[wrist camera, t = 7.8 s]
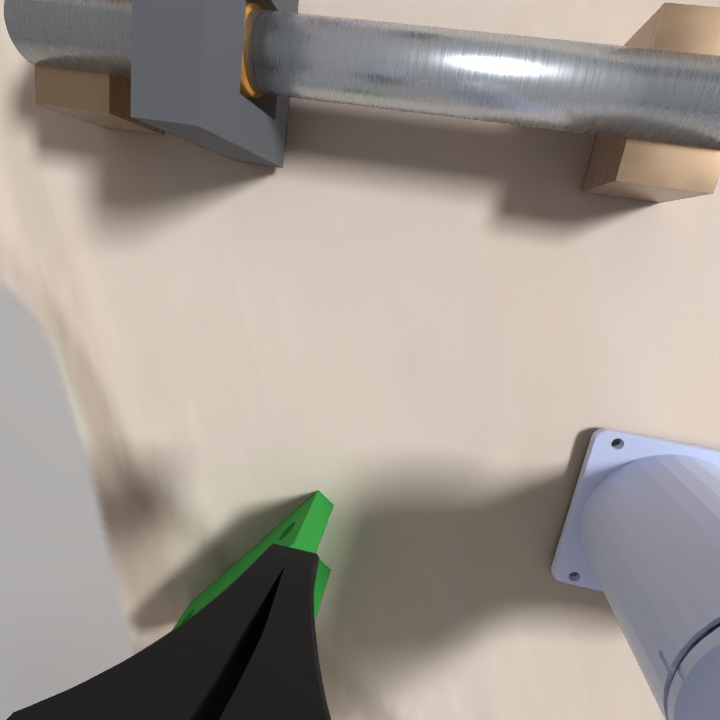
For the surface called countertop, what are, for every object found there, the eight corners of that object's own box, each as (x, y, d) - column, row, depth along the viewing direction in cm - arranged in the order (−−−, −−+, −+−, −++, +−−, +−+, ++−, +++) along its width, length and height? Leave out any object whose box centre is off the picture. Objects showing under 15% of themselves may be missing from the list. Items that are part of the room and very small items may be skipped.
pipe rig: (704, 59, 17) (810, -13, 12) (660, 202, 18) (740, 188, 13) (101, -2, 19) (-6, -81, 15) (102, 126, 21) (4, 92, 16)
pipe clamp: (238, 641, 27) (200, 718, 23) (192, 599, 27) (145, 668, 23) (370, 537, 24) (355, 603, 20) (319, 488, 24) (292, 544, 19)
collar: (299, -9, 18) (212, -171, 11) (282, 167, 20) (198, 126, 13) (250, -14, 18) (133, -175, 11) (237, 161, 20) (130, 116, 13)
